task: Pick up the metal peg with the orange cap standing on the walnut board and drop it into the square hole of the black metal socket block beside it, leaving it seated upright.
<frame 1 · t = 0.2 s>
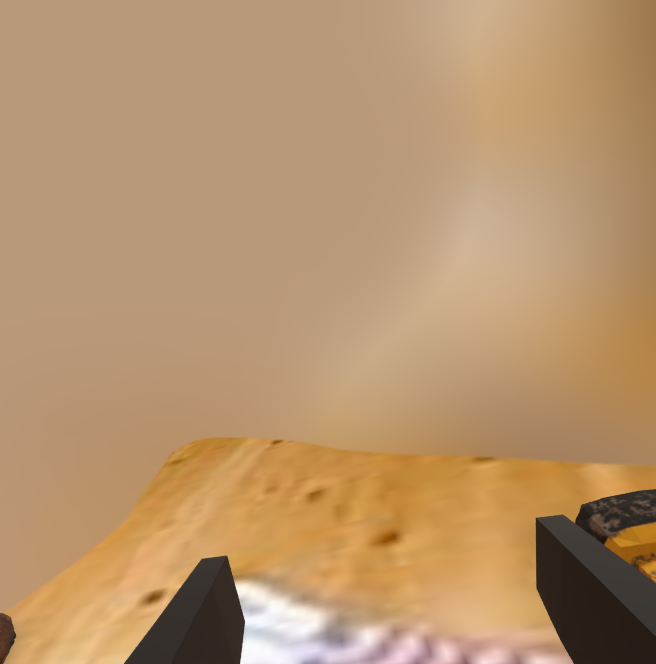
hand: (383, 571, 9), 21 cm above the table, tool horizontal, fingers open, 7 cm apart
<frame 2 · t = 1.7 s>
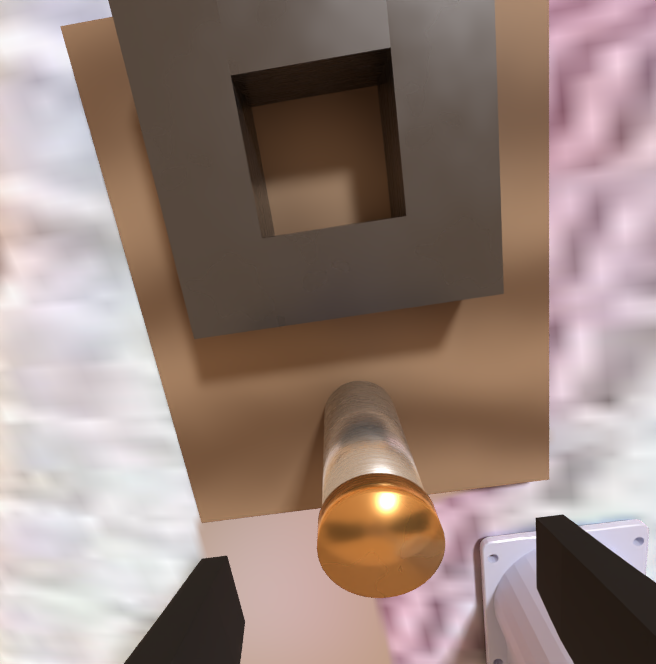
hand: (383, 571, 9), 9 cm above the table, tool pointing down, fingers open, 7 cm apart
metal peg: (359, 413, 17), point 1 cm above the table, touching walnut board
walnut board: (340, 283, 16), on the table
socket block: (324, 167, 15), resting on walnut board
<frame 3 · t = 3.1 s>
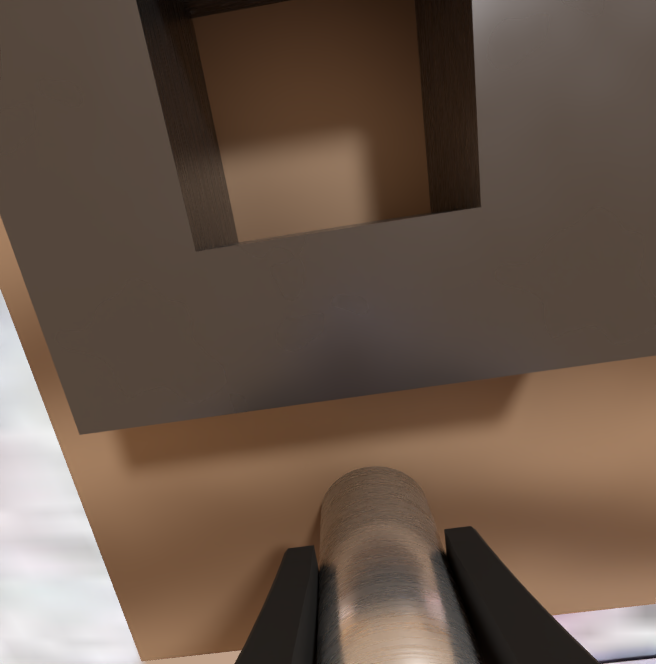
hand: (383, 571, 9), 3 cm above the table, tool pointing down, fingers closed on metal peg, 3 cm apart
metal peg: (374, 512, 11), point 1 cm above the table, touching gripper, walnut board
walnut board: (345, 315, 10), on the table
socket block: (319, 131, 9), resting on walnut board
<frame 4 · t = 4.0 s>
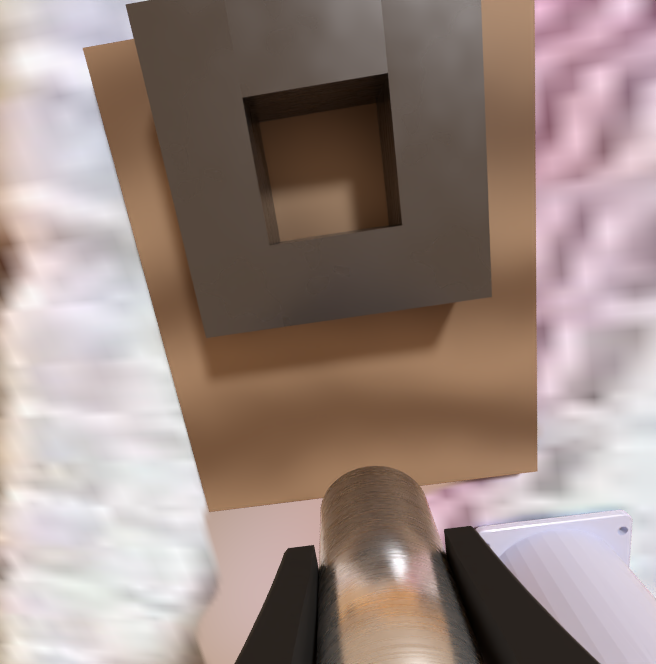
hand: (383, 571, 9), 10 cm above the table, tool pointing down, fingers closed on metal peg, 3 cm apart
metal peg: (374, 512, 11), point 8 cm above the table, touching gripper
walnut board: (341, 285, 17), on the table
socket block: (326, 178, 16), resting on walnut board
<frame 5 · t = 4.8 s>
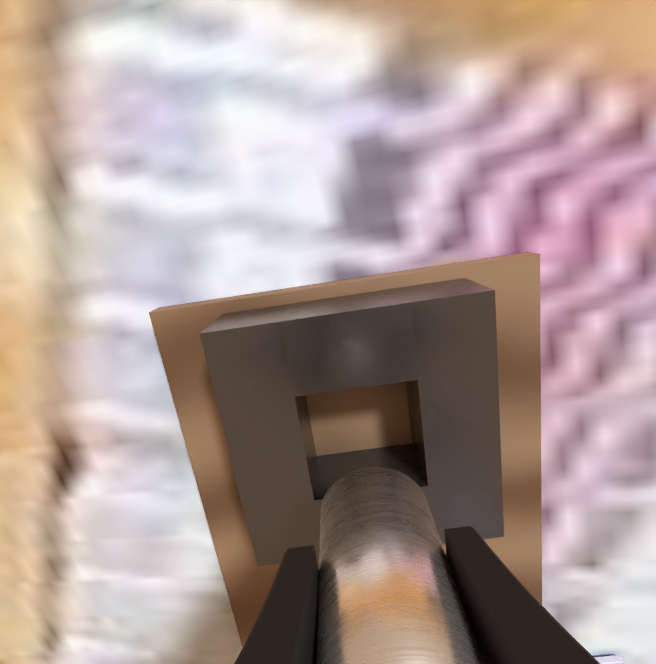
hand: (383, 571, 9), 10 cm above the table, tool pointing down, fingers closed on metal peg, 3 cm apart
metal peg: (374, 513, 11), point 8 cm above the table, touching gripper
walnut board: (368, 478, 19), on the table
socket block: (356, 396, 18), resting on walnut board
when the fingers open (5 cm above the table, at t = 6.1 s): metal peg drops 2 cm, resting on walnut board.
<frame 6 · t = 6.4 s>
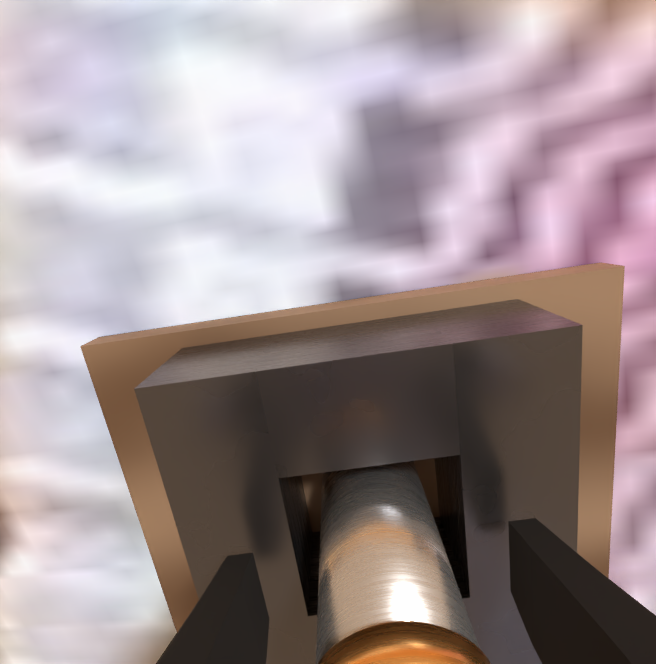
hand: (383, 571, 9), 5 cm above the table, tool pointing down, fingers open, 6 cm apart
metal peg: (368, 469, 13), point 1 cm above the table, touching walnut board
walnut board: (379, 554, 15), on the table
socket block: (364, 452, 14), resting on walnut board
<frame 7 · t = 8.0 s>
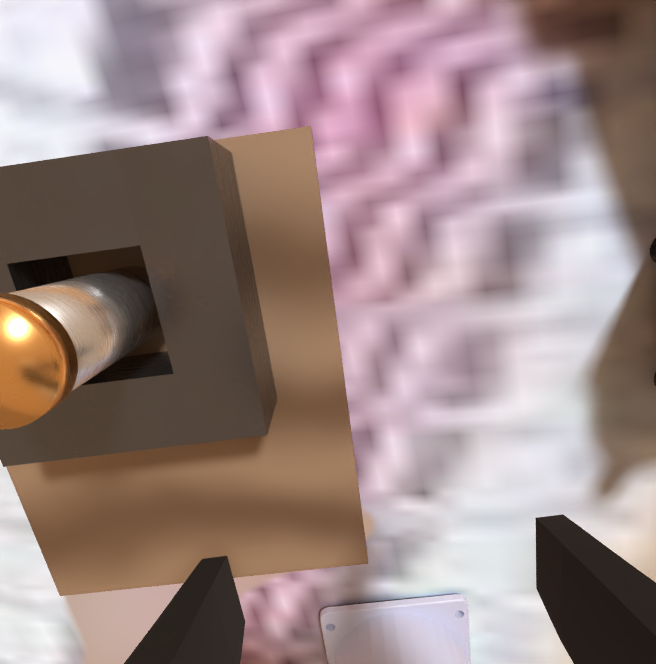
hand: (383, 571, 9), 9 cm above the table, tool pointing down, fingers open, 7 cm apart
metal peg: (136, 302, 16), point 1 cm above the table, touching walnut board
walnut board: (172, 392, 18), on the table
socket block: (146, 297, 17), resting on walnut board
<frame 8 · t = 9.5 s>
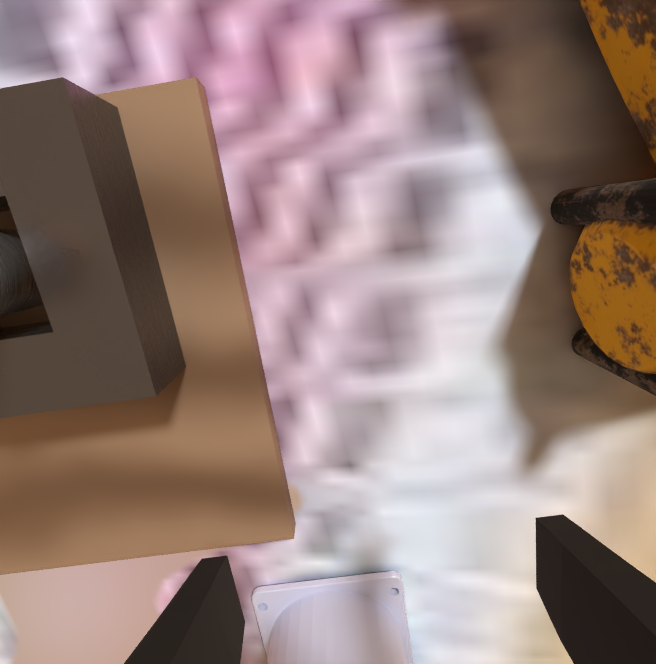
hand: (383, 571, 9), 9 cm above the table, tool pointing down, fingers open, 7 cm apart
metal peg: (33, 267, 16), point 1 cm above the table, touching walnut board
walnut board: (83, 363, 18), on the table
socket block: (50, 264, 17), resting on walnut board
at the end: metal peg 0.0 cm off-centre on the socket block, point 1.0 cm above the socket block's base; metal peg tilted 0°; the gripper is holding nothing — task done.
